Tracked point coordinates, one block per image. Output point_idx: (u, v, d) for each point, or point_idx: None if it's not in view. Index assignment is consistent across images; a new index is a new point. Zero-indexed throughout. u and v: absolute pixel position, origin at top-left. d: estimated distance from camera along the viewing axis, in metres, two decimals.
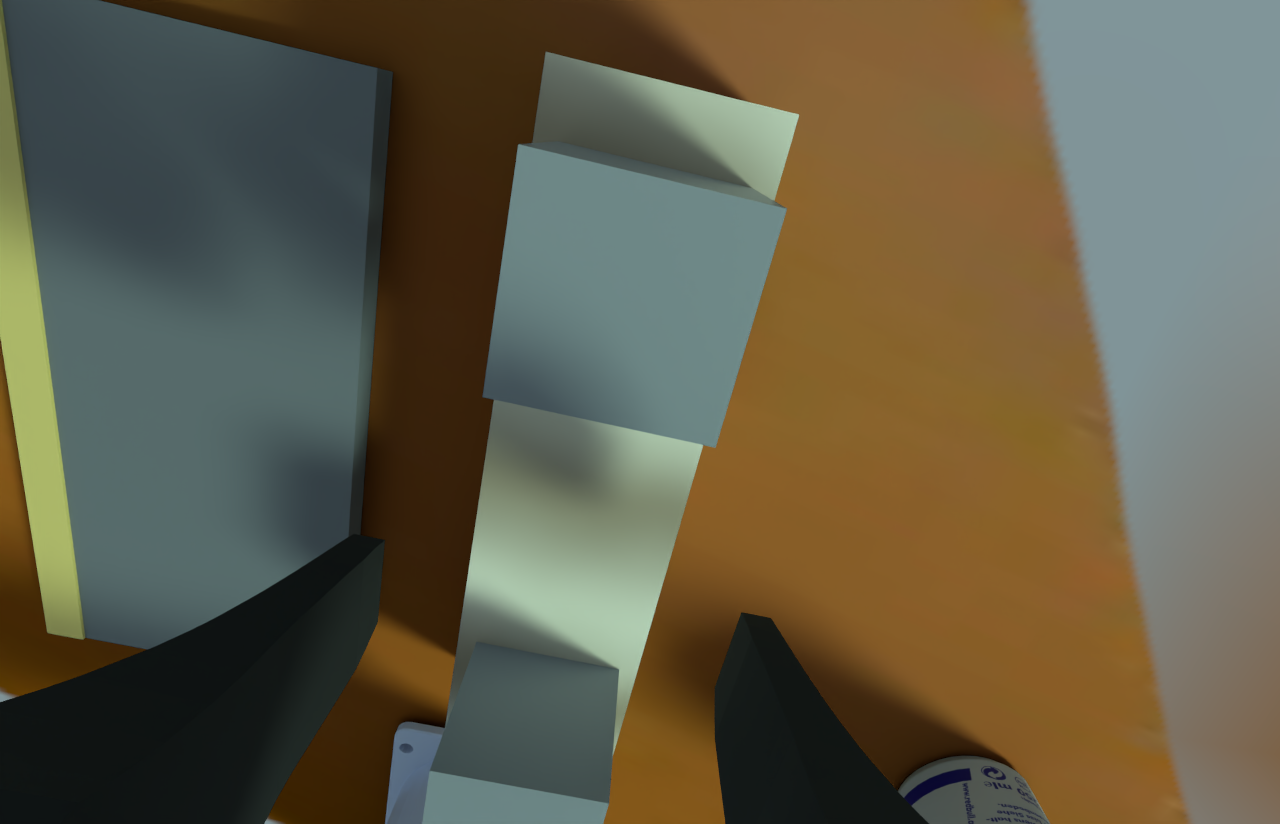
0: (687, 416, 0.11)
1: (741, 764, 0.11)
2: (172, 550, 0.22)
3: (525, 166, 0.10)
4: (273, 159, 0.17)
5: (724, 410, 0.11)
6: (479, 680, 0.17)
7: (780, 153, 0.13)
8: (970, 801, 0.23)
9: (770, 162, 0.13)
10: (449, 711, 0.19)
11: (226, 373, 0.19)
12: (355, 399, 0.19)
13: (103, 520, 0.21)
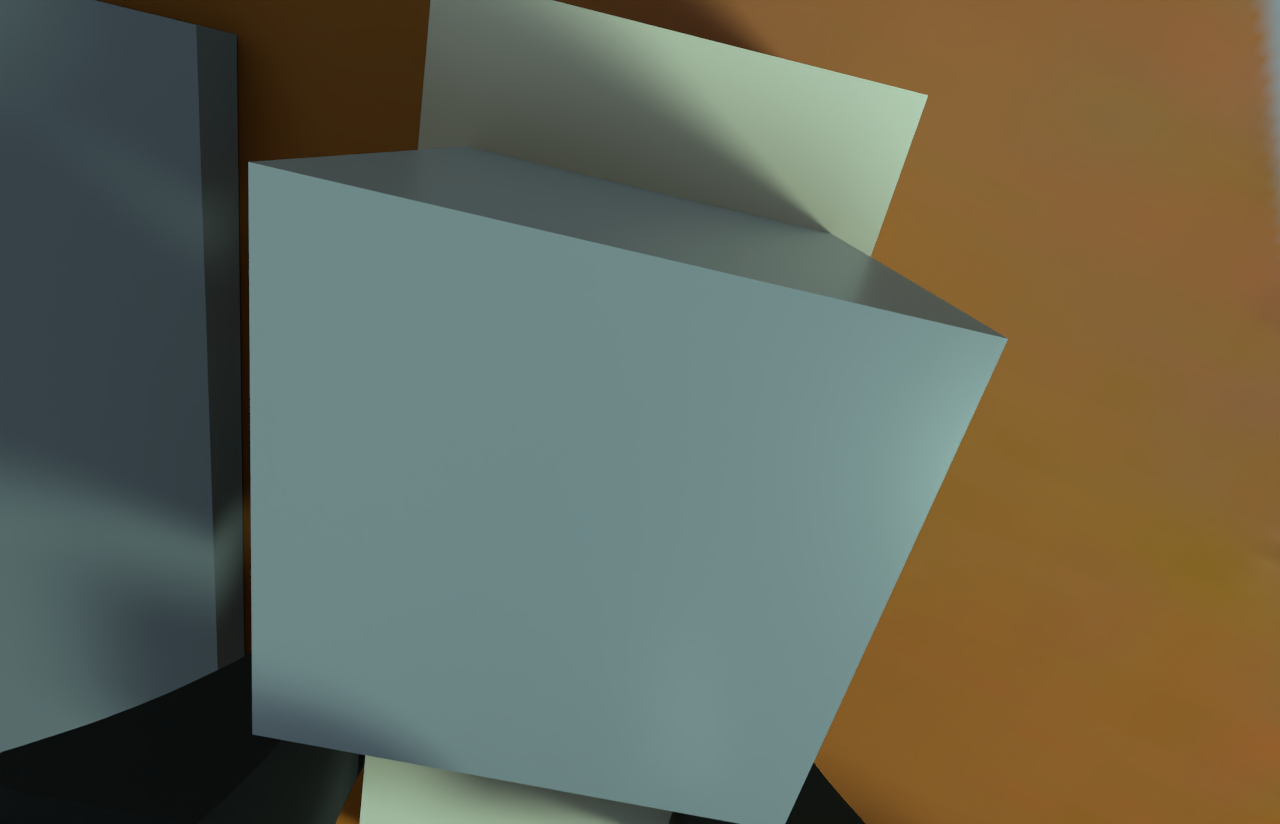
0: (722, 775, 0.05)
1: None
2: None
3: (277, 224, 0.03)
4: (45, 172, 0.11)
5: (806, 769, 0.05)
6: None
7: (887, 169, 0.07)
8: None
9: (867, 186, 0.07)
10: None
11: (17, 487, 0.13)
12: (210, 524, 0.13)
13: None
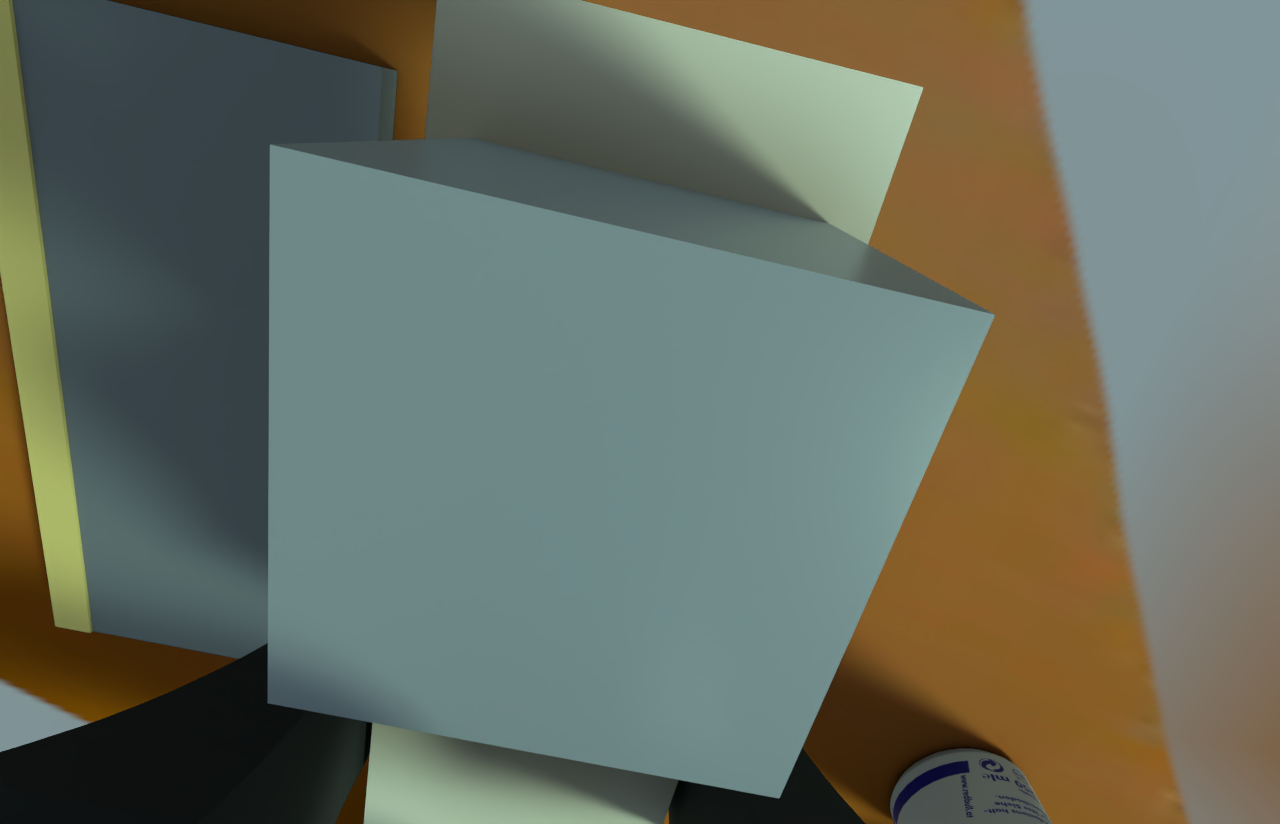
0: (720, 742, 0.05)
1: None
2: (179, 544, 0.22)
3: (297, 204, 0.04)
4: None
5: (803, 737, 0.05)
6: None
7: (883, 160, 0.07)
8: (968, 793, 0.24)
9: (864, 177, 0.07)
10: None
11: (232, 368, 0.19)
12: None
13: (111, 515, 0.21)
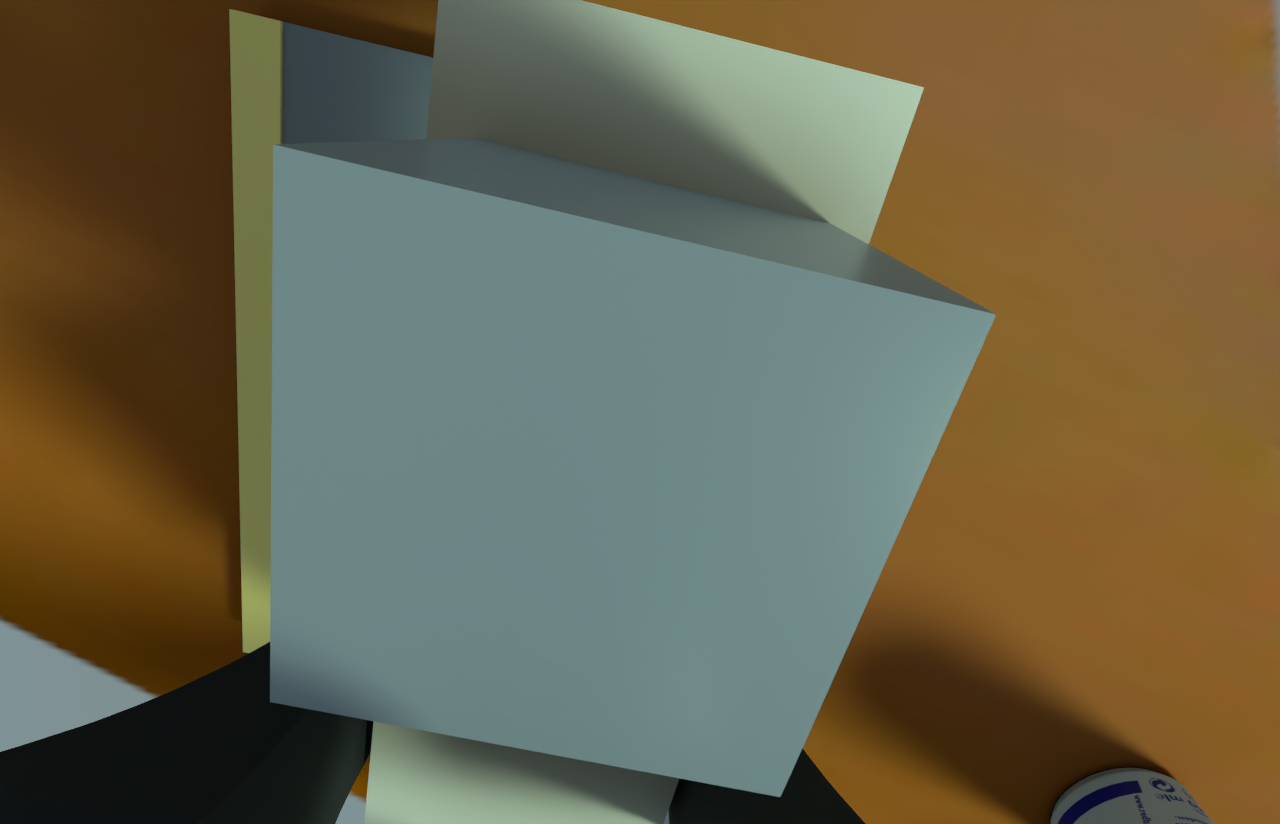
0: (723, 741, 0.05)
1: None
2: None
3: (300, 204, 0.04)
4: None
5: (804, 735, 0.05)
6: None
7: (884, 160, 0.07)
8: (1145, 814, 0.24)
9: (865, 176, 0.07)
10: None
11: None
12: None
13: None
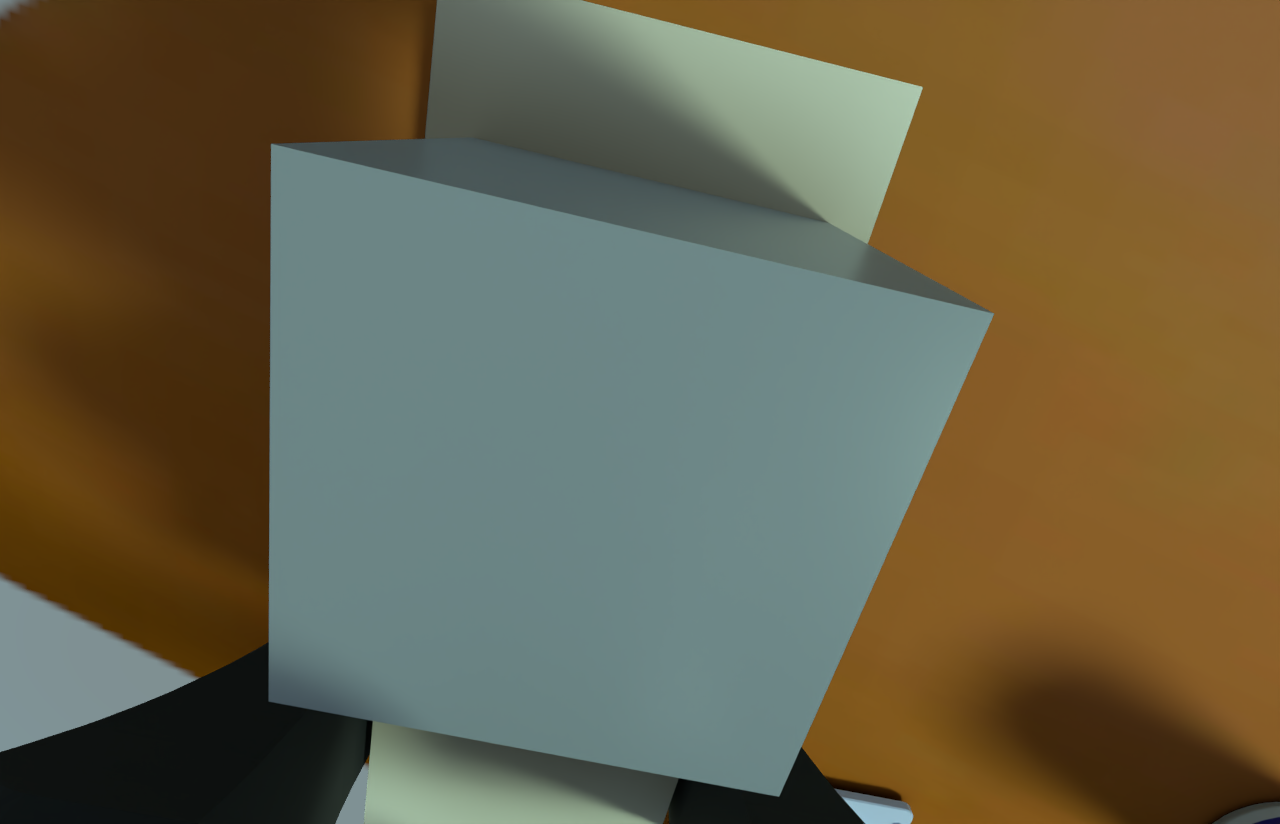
0: (721, 742, 0.05)
1: None
2: None
3: (298, 203, 0.04)
4: None
5: (803, 735, 0.05)
6: None
7: (883, 160, 0.07)
8: None
9: (863, 176, 0.07)
10: None
11: None
12: None
13: None
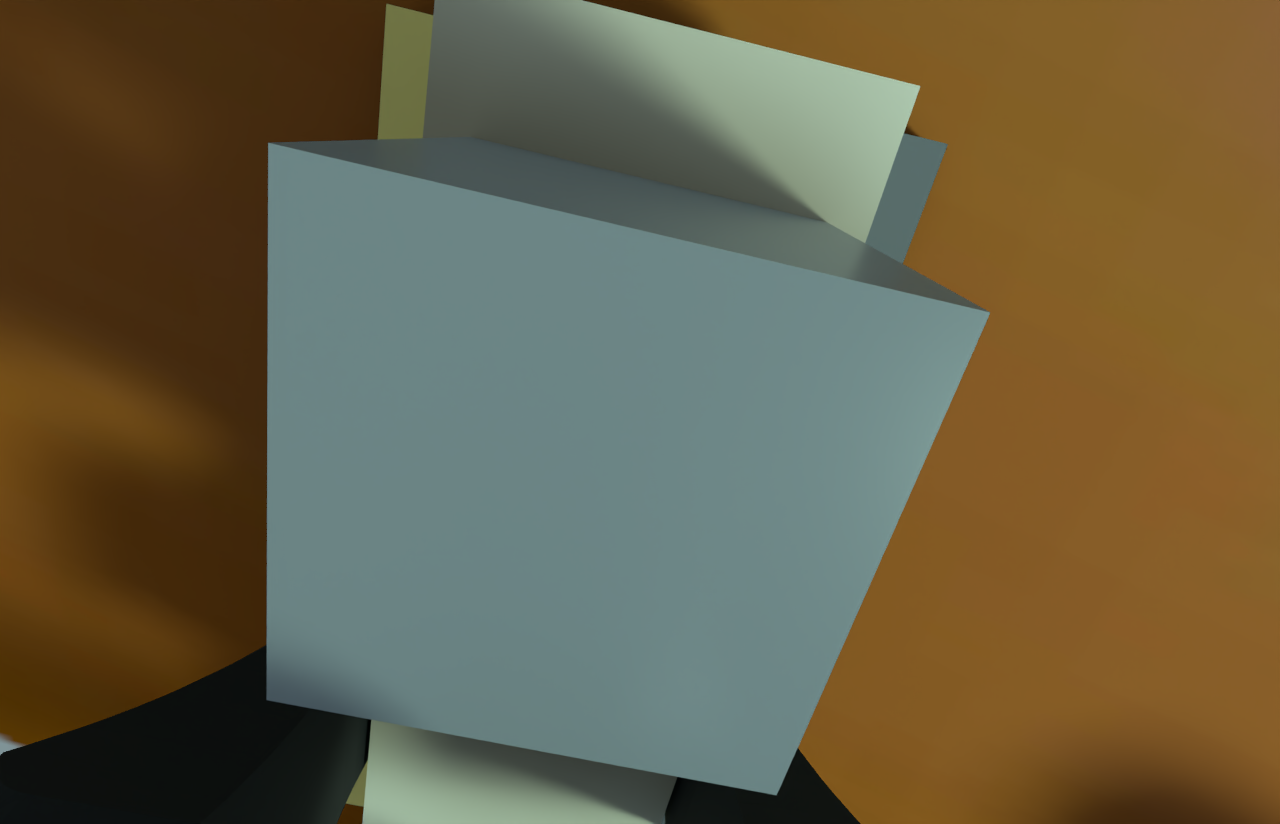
0: (719, 740, 0.05)
1: None
2: None
3: (295, 202, 0.04)
4: None
5: (800, 733, 0.05)
6: None
7: (880, 159, 0.07)
8: None
9: (861, 175, 0.07)
10: None
11: None
12: None
13: None
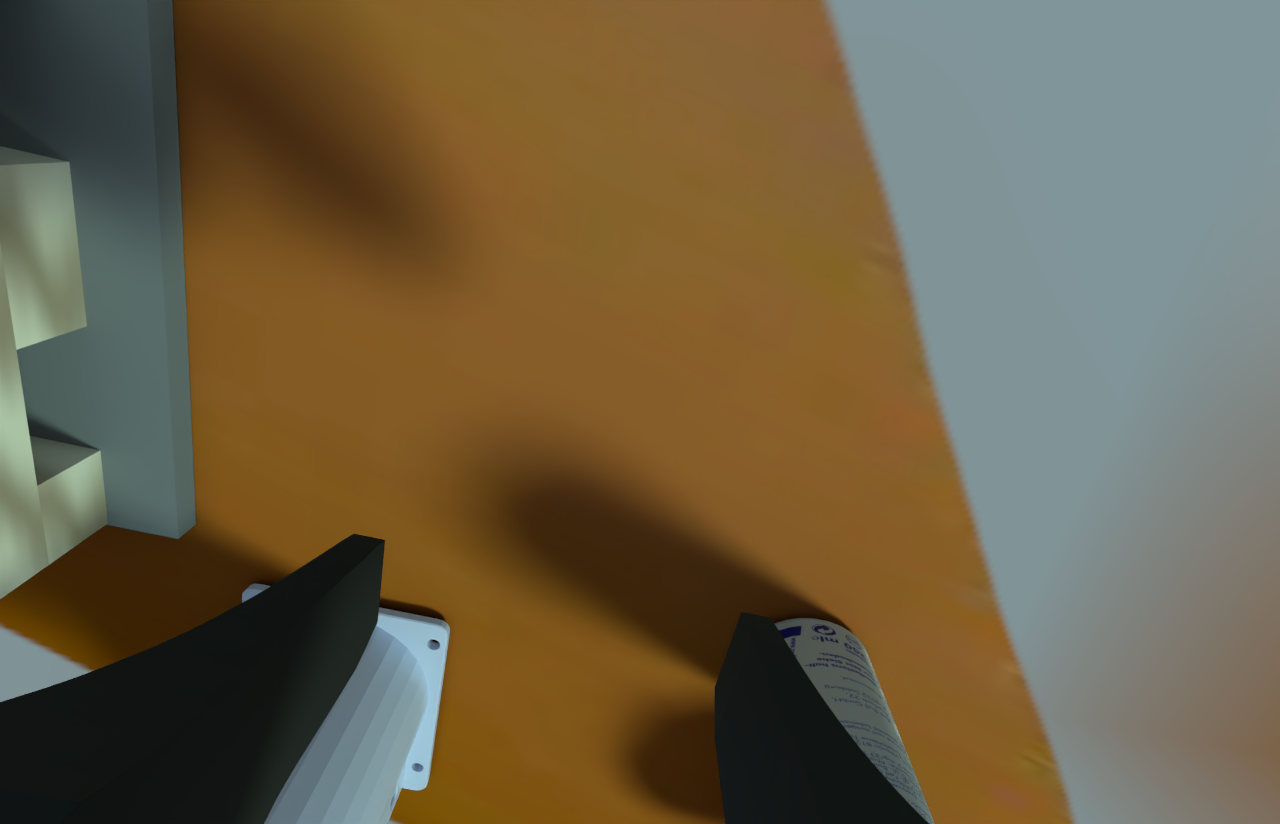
0: None
1: (741, 765, 0.11)
2: None
3: None
4: None
5: None
6: None
7: None
8: (794, 652, 0.24)
9: None
10: None
11: None
12: (159, 229, 0.20)
13: None
